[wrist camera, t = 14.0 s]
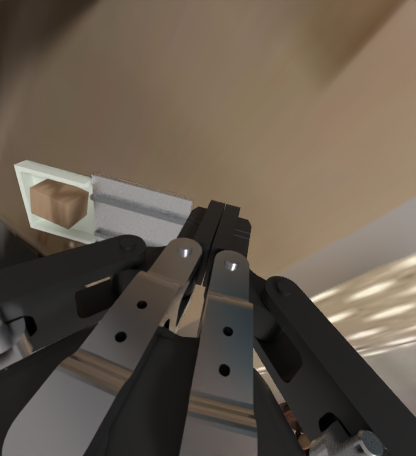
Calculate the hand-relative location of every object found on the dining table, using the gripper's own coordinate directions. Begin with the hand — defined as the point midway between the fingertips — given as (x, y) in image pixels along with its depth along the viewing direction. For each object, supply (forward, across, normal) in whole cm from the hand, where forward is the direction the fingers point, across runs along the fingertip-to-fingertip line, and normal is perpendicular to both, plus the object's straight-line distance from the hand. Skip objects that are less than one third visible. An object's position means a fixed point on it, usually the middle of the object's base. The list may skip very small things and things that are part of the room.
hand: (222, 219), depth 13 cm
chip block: (+27, -30, -24) cm, 47 cm away
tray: (+31, -36, -26) cm, 54 cm away
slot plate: (+31, -18, -26) cm, 44 cm away
